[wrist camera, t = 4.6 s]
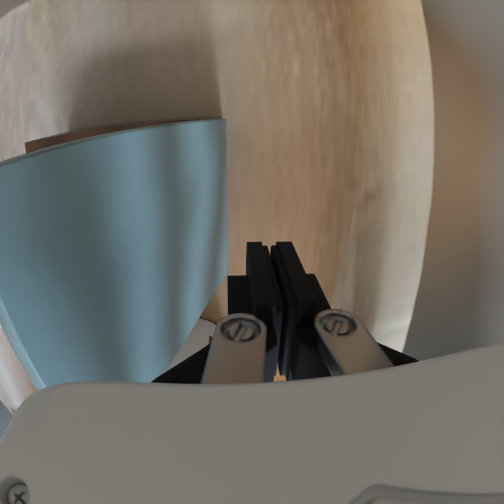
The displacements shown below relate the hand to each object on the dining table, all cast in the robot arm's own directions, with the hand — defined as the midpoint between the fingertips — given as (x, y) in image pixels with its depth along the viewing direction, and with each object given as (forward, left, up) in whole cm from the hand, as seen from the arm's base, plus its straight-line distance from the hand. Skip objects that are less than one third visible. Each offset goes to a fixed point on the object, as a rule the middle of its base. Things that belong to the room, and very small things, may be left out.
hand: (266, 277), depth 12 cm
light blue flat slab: (-5, 0, -2) cm, 5 cm away
